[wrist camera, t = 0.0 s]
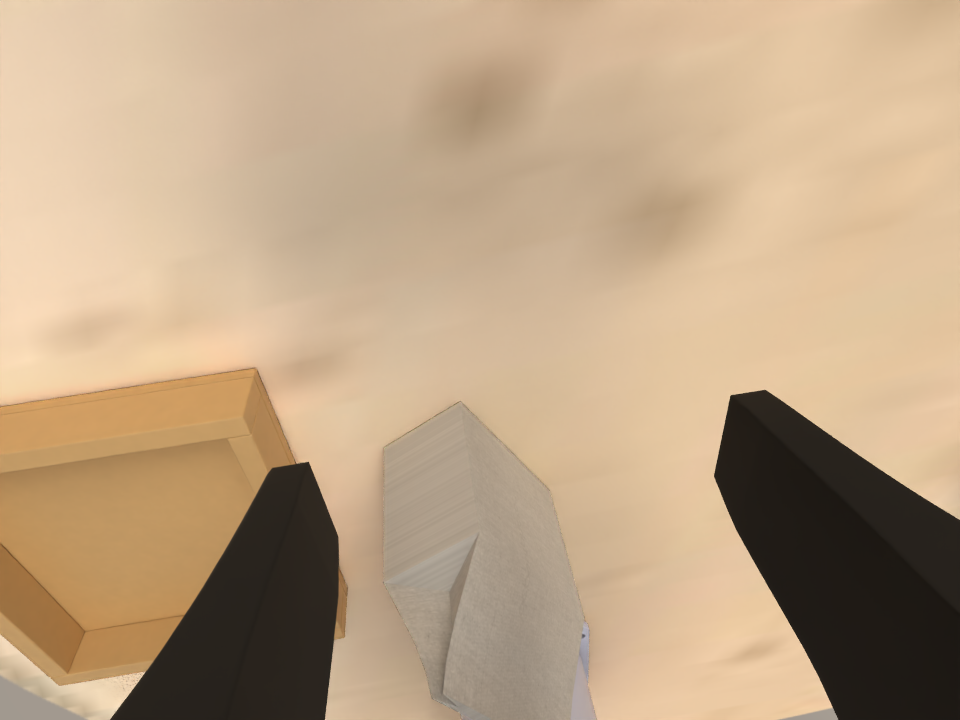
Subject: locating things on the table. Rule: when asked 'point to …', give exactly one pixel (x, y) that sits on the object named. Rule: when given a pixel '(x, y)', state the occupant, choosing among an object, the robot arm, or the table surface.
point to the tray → (125, 515)
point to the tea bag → (480, 572)
